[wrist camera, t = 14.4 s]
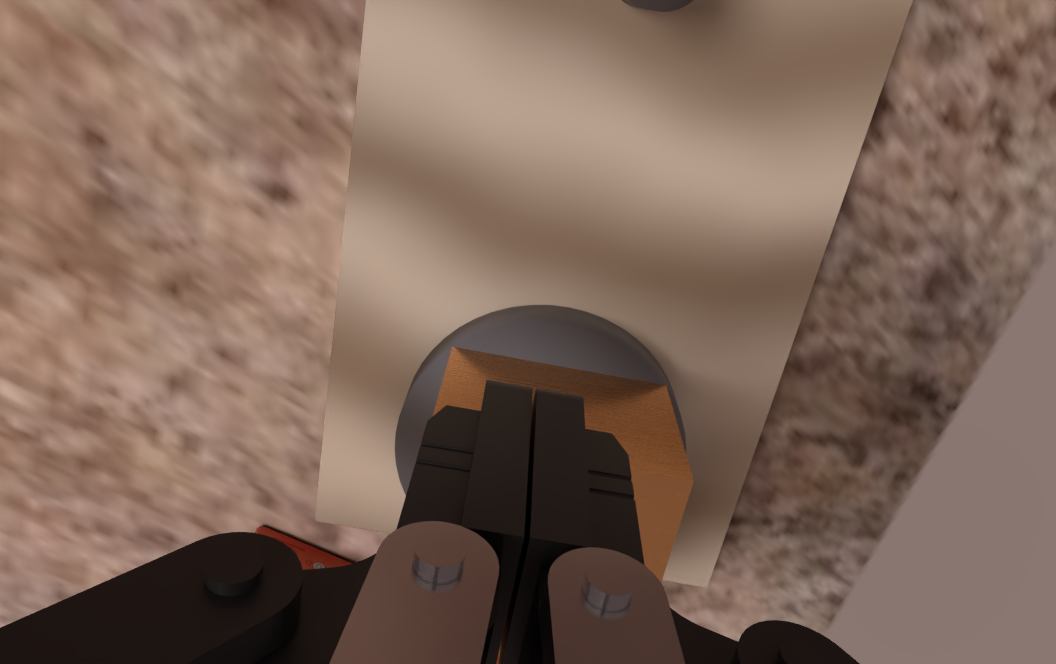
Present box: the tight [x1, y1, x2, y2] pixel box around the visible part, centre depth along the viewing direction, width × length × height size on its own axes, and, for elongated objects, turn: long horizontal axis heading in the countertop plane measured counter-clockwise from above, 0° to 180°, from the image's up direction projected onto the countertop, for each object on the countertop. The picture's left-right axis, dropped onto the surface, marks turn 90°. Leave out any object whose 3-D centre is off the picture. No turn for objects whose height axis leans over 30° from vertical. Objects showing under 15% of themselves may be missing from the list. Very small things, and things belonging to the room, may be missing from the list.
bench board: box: [315, 0, 913, 587], centre depth 21 cm, size 24×14×7 cm, turn 169°
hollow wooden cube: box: [433, 347, 694, 657], centre depth 22 cm, size 6×6×5 cm
